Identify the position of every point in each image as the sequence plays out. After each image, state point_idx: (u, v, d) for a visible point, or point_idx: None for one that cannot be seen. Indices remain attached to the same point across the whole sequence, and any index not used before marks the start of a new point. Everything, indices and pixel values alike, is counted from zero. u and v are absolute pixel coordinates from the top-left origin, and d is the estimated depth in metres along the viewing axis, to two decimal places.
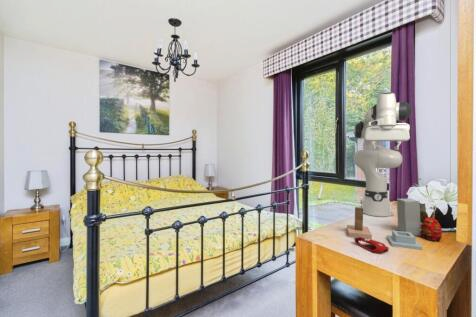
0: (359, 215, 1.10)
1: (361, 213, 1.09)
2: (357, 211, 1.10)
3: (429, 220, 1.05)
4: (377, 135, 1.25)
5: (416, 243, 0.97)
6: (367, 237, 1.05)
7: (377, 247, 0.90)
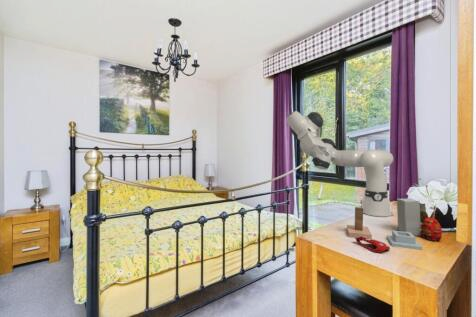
0: (359, 215, 1.10)
1: (361, 213, 1.09)
2: (357, 211, 1.10)
3: (429, 220, 1.05)
4: (315, 141, 1.21)
5: (416, 243, 0.97)
6: (367, 237, 1.05)
7: (378, 247, 0.90)
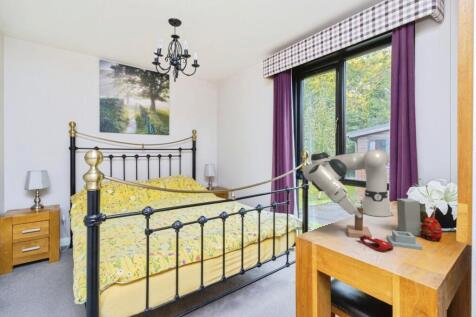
0: None
1: (361, 213, 1.09)
2: None
3: (429, 220, 1.05)
4: None
5: (416, 243, 0.97)
6: None
7: (381, 245, 0.91)
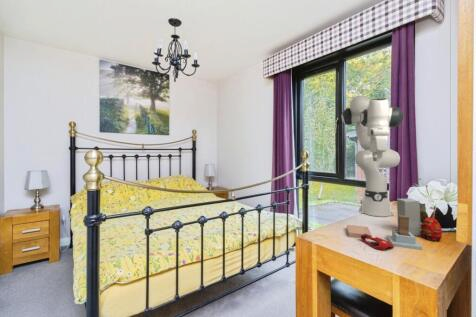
0: (404, 224, 0.98)
1: (407, 222, 0.98)
2: (402, 220, 0.99)
3: (429, 220, 1.05)
4: None
5: (416, 243, 0.97)
6: None
7: (380, 244, 0.93)
